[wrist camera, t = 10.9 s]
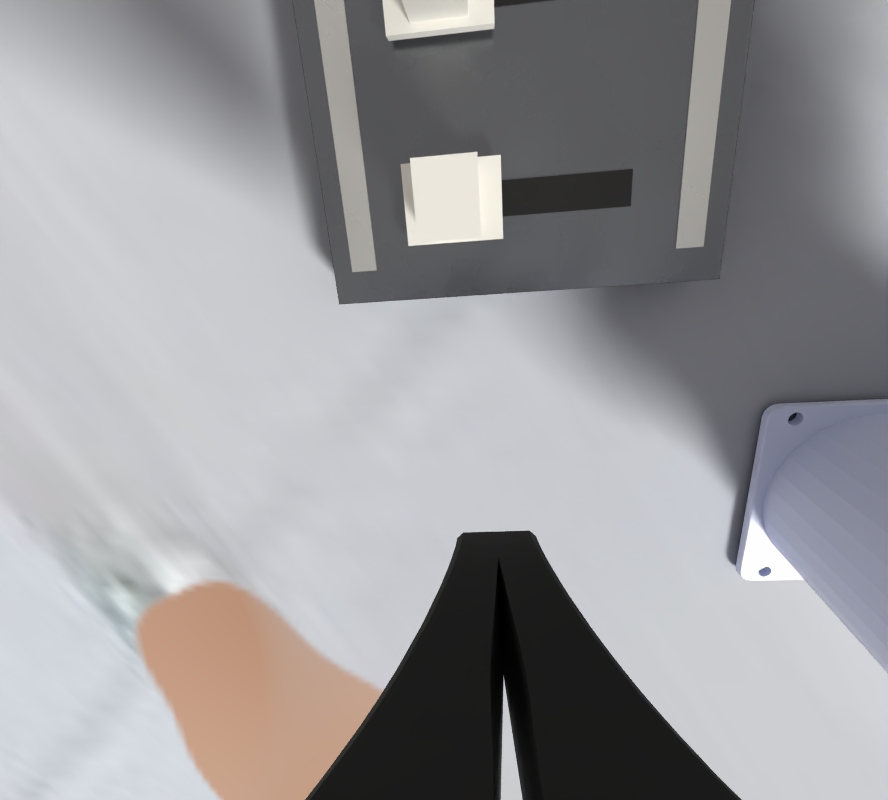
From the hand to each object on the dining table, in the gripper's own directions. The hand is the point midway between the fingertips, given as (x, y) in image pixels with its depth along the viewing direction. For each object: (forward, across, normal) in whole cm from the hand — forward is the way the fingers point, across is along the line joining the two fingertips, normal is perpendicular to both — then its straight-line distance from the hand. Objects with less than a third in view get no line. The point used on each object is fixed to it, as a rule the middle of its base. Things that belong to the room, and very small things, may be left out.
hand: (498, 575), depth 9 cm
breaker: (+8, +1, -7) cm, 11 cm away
